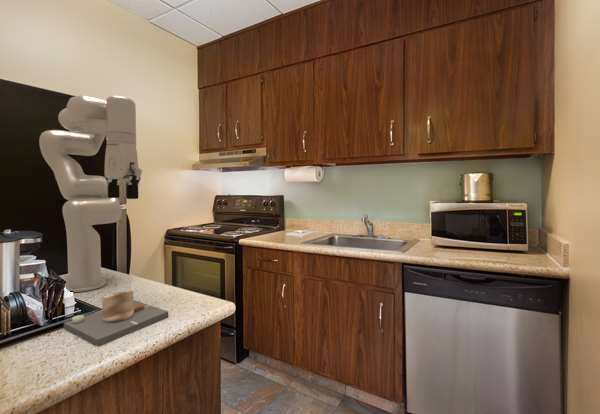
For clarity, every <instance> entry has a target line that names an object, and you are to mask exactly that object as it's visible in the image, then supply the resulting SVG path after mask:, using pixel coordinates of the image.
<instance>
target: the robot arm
mask: <svg viewBox="0 0 600 414" xmlns="http://www.w3.org/2000/svg"><path fill="white" fill-rule="evenodd" d="M136 108H137V107H136V103H135V102H134V100H133V99H132V98H129V97H127V96H126V97H125V96H121V95H110V96H107V98H106V99H102V98H98V97H94V96H89V95H83V94H82V95H75V96H72V97H70V98H69V99H68V101H67V104H66V107H65V108H63V109H61V110H60V112H59V113H58V116H57V117H58V118H57V119H58V122H59V124H60V125H61V126H62V127H63V128H64V129H66V130H60V129H51V130H50V129H48V130H45V131H43V132H41V134H40V136H39V142H38V143H39V144H38V145H39V150H40V152H41V155H42V158H44V160H45V162H46V163H47V165H48V166H49V167H50V169H51V171H53V175H54V177H55V181H56V182H57V186H58V188H59V192H60V193H61V195H62V197H63V199H65V200H67V201H66V202H65V203H64V204H63V205H62V216H63V220H64V225H65V231H66V245H67V248H66V249H67V275H68V276H67V277H68V278H67V279H68V280H67V281H68V282H67V283H65V284H66V289H67V290H69V291H73V292H72V293H80V292H89V291H93V290H97V289H99V288H102V287H105V286H106V285H107V279H105V278H102V256H101V255H102V253H101V251H102V250H101V249H102V248H101V236H100V233H98V231H97V230H96V229H95V228H94V227H93V226H94V225H95V226H96V225H104V224H113V223H117V222H118V221H120V219H121V218H122V214H123V212H122V210H123V209H122V207H121V203H120V201H119V198H120V184H119V183H120V181H121V180H125V182H127V184H126V185H125V186H126V188H125V190H126V199H127V200H136V199H137V200H138V199H139V186H140V181H141V178H142V173H143V170H142V169H141V168H140V167H139V160H138V150H137V118H136V117H137V111H136ZM68 130H69V131H68ZM105 139H106V147H105V155H104V176H101V175H89V174H88V175H87V174H85V173H84V171H83V168H82V166H81V164H79V162H77V160H76V159H74V158H73V157H71V156H70V155H76V156H85V157H91V156H95V155H96V154H97V153H98V152H99V150H100V148H101V146H102V144H103V142H104V140H105ZM120 179H121V180H120Z"/></svg>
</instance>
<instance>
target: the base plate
mask: <svg viewBox="0 0 600 414" xmlns="http://www.w3.org/2000/svg"><path fill="white" fill-rule="evenodd" d="M133 300H134V299H133ZM141 305H143V306H144V309H142V310H138V311H135V312H134V315H133V316H132V317H131V318H129V319H127V320H124V321H120V322H111V323H110V322H104V321H103V317H102V310H99V311H96V312H92V313H90V314H87V315H84V314H80V315H79V314H78V315H74V316H73V317H72V318H71V320H68V321H66V322H63V330H65V331H67V332H69V333H71V334H73V335H75V336H77V337H79V338H81V339H83V340H85V341H87V342H89V343H91V344H93V345H95V346H97V347H100V346H102V345H105V344H106V343H110V342H112V341H114V340H116V339H118V338H121V337H123V336H126V335H128V334H131V333H133V332H135V331H136V332H137V330H140V329H143V328H145V327H147V326H150V325H151V324H155V323H157V322H159V321H162V320H164V319H166V318H168V317H169V311H168V310H165V309H162V308H159V307H157V306H153V305H151V304H147V303H144V302H141V301H138V300H134V307H138V306H141Z"/></svg>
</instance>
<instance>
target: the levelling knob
mask: <svg viewBox="0 0 600 414" xmlns="http://www.w3.org/2000/svg"><path fill="white" fill-rule="evenodd" d="M101 304H102V305H101V306H102V307H101V309H102V310H101V311H102V317H103V321H104V322H110V323H111V322H120V321H124V320H127V319H129V318H131V317H132V316H133V315H134V312H135V311H138V310H142V309H144V306H143V305H141V306H138V307H134V290H133V289H131V288H130V289H126V290H124V291H119V292H115V293H111V294H108V295H103V296H101Z"/></svg>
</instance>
